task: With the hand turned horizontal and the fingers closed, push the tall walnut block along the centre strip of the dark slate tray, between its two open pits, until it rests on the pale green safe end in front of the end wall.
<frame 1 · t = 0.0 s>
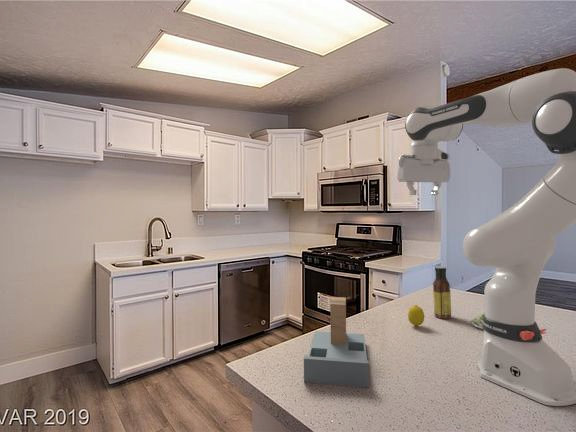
hand: (424, 195, 114), 48 cm above the countertop, tool pointing down, fingers open, 8 cm apart
salad plate: (500, 328, 118), on the countertop
lemon: (416, 327, 120), on the countertop
block: (338, 338, 102), point 3 cm above the countertop, touching deck
deck: (337, 359, 94), on the countertop
sauce bottle: (442, 317, 130), on the countertop
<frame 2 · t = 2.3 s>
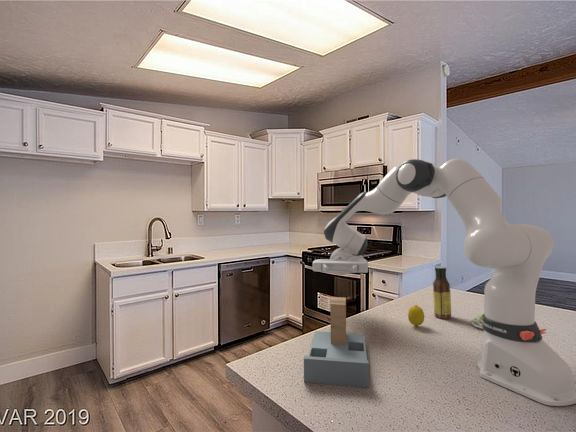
hand: (339, 270, 114), 22 cm above the countertop, tool horizontal, fingers open, 7 cm apart
nothing on the countertop moved.
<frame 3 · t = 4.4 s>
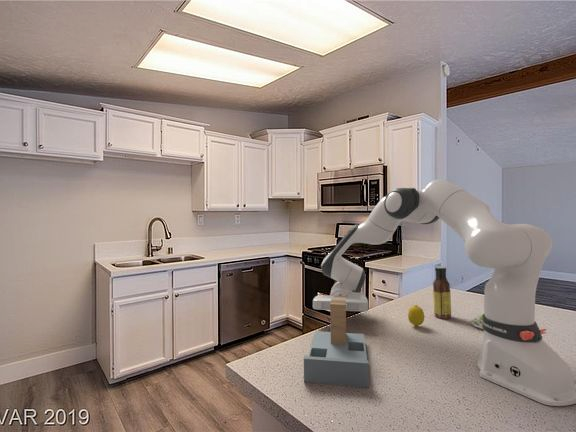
hand: (339, 310, 114), 8 cm above the countertop, tool horizontal, fingers closed
nothing on the countertop moved.
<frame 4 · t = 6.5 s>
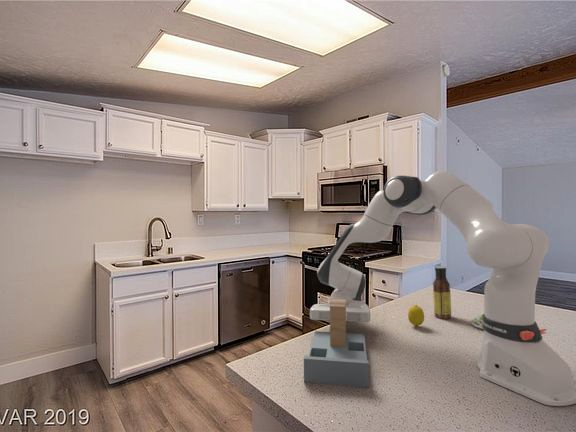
hand: (339, 320, 104), 8 cm above the countertop, tool horizontal, fingers closed
block: (338, 341, 100), point 3 cm above the countertop
everything else where it was.
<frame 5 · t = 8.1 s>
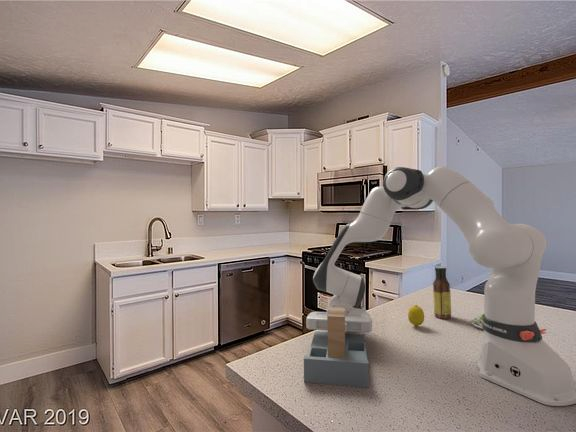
hand: (337, 331, 95), 8 cm above the countertop, tool horizontal, fingers closed, pressing on block
block: (336, 354, 91), point 3 cm above the countertop, touching gripper
everything else where it was.
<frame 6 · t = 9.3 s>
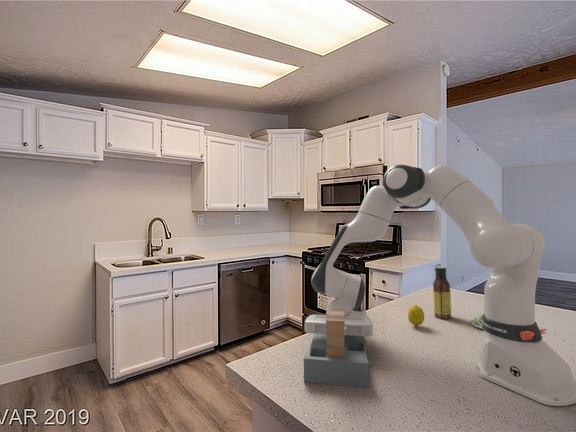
hand: (337, 335, 92), 8 cm above the countertop, tool horizontal, fingers closed, pressing on block
block: (336, 359, 88), point 3 cm above the countertop, touching deck, gripper
everything else where it was.
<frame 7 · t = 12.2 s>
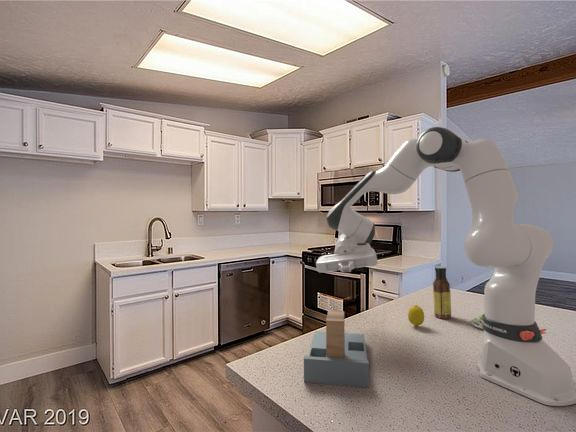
hand: (345, 270, 103), 24 cm above the countertop, tool horizontal, fingers closed
block: (336, 359, 88), point 3 cm above the countertop, touching deck
everything else where it was.
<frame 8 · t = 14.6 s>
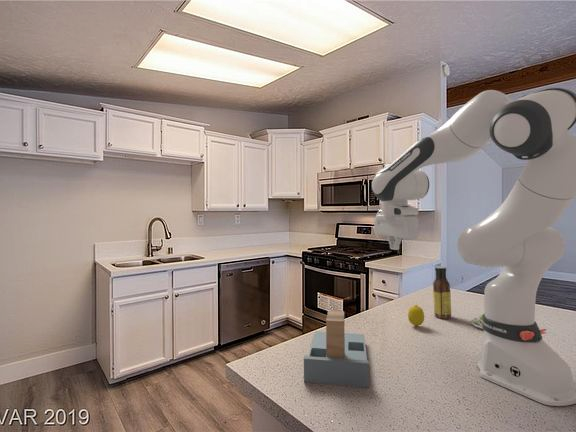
hand: (394, 249, 115), 29 cm above the countertop, tool pointing down, fingers closed
nothing on the countertop moved.
at the end: block inside the target area (1.5 cm from its centre), point 3.0 cm above the countertop; block tilted 0°; block moved 14.3 cm from its start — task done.
